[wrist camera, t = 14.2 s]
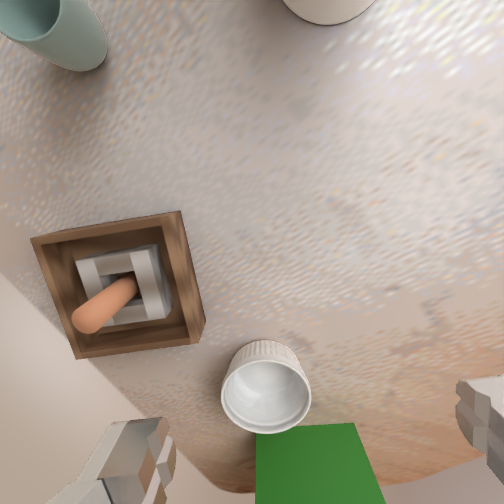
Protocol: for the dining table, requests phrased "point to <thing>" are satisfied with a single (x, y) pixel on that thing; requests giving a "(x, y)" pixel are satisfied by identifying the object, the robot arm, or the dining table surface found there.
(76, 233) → the box
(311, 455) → the hardback book
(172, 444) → the robot arm
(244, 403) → the ramekin
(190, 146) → the dining table surface
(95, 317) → the peg
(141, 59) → the dining table surface
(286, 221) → the dining table surface
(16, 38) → the cup
